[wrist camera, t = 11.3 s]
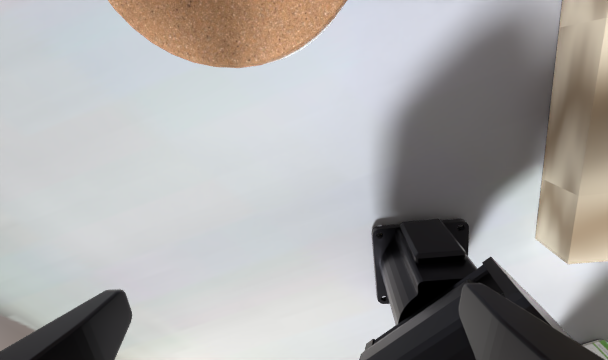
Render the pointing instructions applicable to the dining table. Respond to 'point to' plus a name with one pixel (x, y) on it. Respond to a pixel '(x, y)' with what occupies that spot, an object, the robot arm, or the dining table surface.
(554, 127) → the maple socket board
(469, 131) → the dining table surface
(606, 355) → the syrup box
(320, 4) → the lidded jar
